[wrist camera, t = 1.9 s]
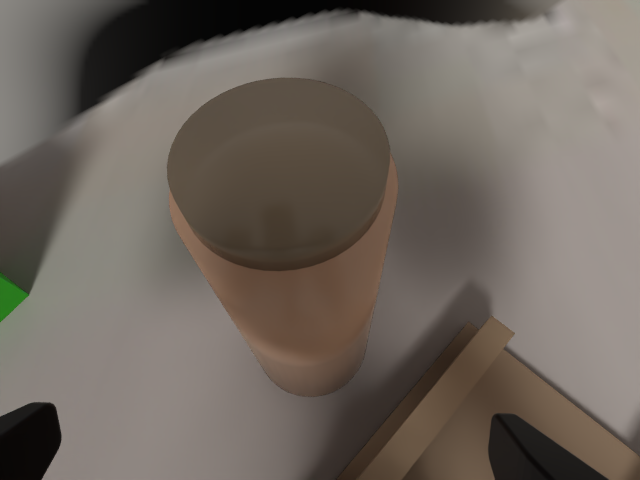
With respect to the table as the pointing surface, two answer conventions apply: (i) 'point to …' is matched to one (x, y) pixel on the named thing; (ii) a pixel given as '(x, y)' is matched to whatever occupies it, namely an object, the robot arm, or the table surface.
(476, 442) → the wooden drawer
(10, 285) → the toy
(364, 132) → the jar
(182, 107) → the table surface
